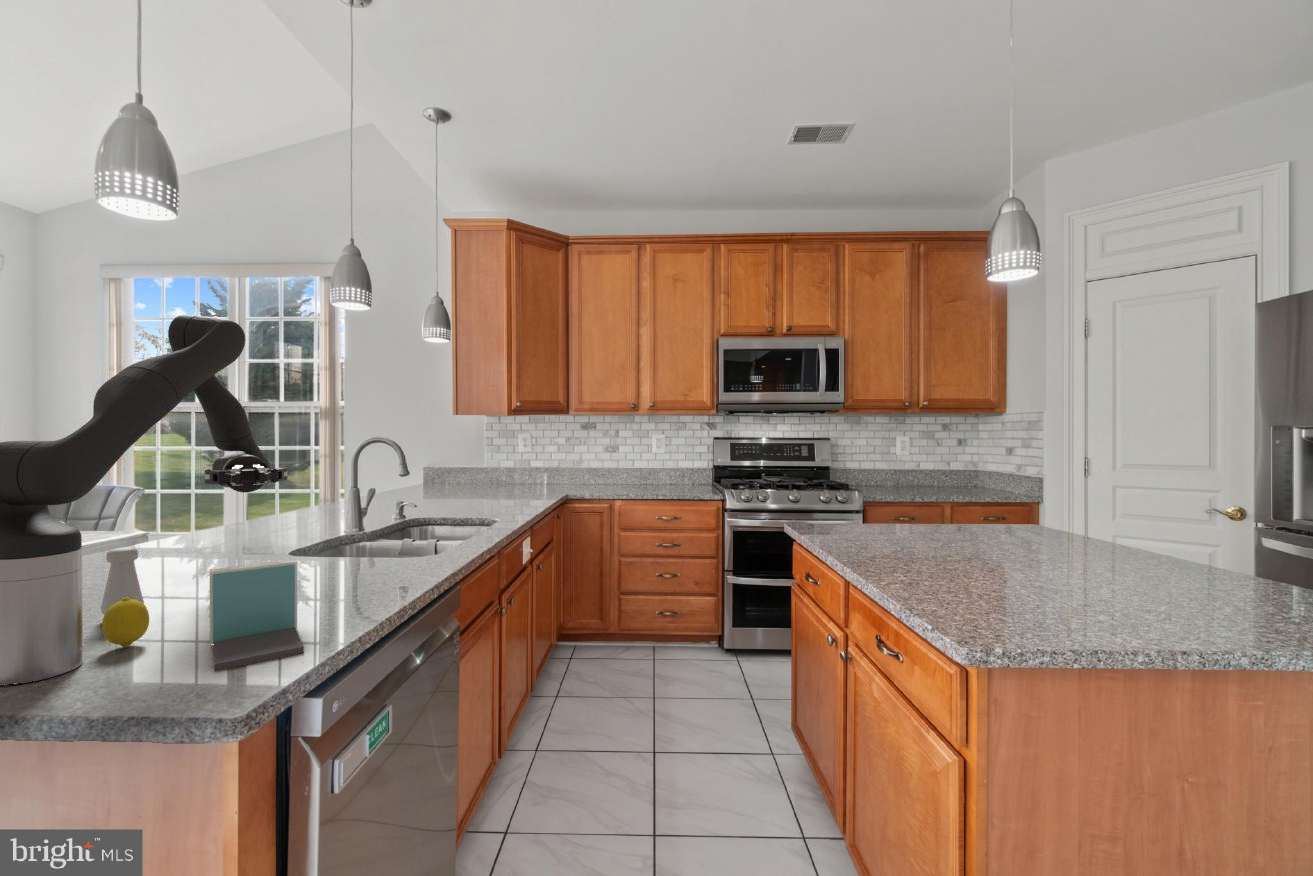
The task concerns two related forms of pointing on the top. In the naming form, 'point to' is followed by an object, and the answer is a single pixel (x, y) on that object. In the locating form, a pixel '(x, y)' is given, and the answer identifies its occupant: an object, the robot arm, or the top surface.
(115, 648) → the top surface
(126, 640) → the lemon
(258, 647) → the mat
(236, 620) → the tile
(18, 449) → the robot arm
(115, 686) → the top surface
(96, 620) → the top surface
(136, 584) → the salt shaker
